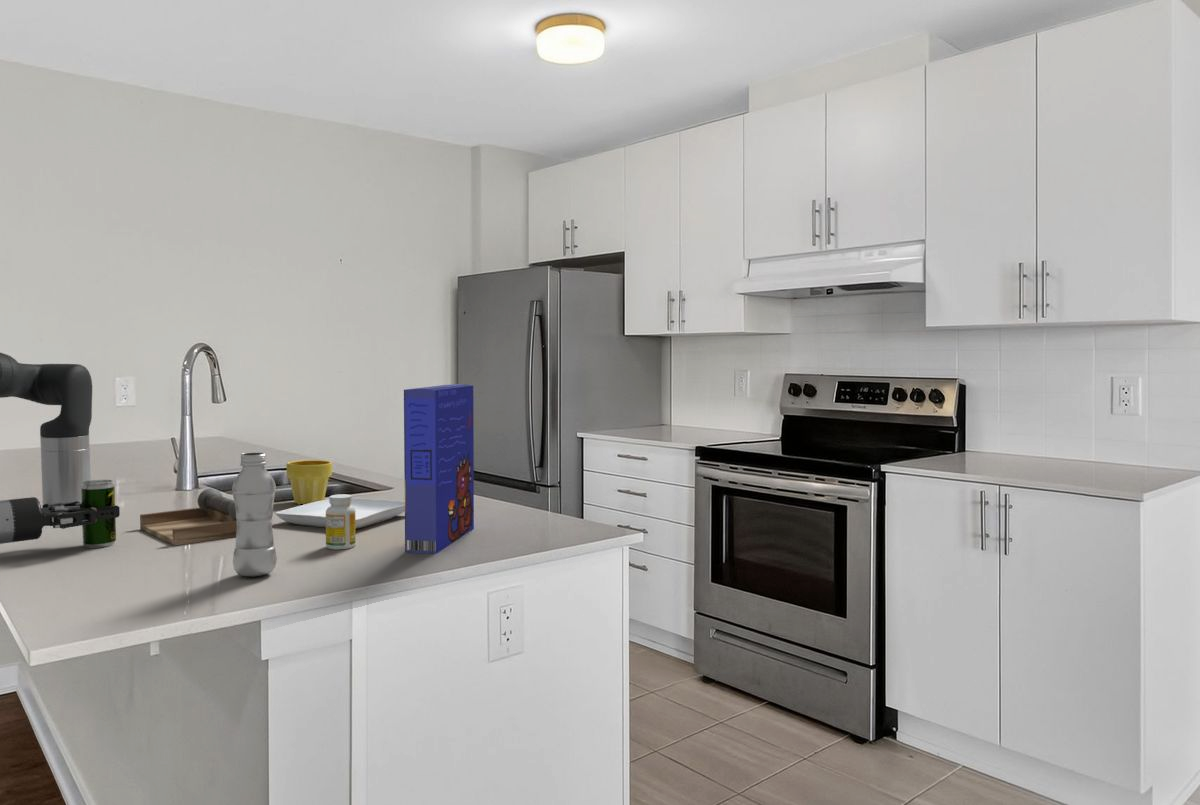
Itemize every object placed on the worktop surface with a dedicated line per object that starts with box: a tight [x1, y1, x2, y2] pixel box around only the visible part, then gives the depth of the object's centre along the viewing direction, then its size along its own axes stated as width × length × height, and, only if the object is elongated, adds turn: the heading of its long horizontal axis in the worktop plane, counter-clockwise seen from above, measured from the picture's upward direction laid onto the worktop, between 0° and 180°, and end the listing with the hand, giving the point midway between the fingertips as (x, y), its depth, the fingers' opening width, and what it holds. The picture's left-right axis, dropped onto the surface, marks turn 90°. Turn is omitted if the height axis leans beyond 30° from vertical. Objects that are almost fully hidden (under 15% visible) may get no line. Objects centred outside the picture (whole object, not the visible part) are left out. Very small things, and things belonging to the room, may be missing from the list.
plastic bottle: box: [231, 452, 278, 578], centre depth 139 cm, size 6×7×20 cm
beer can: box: [81, 479, 117, 549], centre depth 159 cm, size 5×5×12 cm
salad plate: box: [275, 497, 405, 530], centre depth 184 cm, size 21×21×3 cm
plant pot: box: [286, 459, 333, 505], centre depth 204 cm, size 10×10×10 cm
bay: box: [139, 487, 237, 546], centre depth 172 cm, size 20×16×7 cm
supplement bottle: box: [325, 493, 357, 551], centre depth 159 cm, size 5×5×10 cm
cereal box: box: [403, 383, 475, 555], centre depth 165 cm, size 22×6×30 cm, turn 170°
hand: (113, 508), depth 161 cm, fingers closed on beer can, 5 cm apart
